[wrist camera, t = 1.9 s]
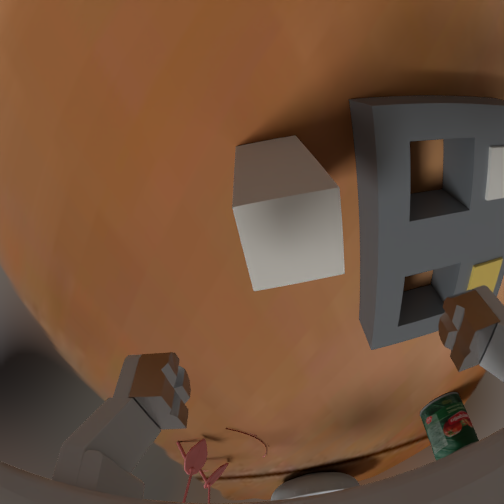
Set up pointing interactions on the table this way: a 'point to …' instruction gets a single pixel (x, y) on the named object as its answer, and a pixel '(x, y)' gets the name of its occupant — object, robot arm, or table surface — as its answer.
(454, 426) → the canned tomato
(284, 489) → the serving bowl
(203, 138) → the table surface
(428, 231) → the socket block
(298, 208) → the plug
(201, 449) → the figurine
